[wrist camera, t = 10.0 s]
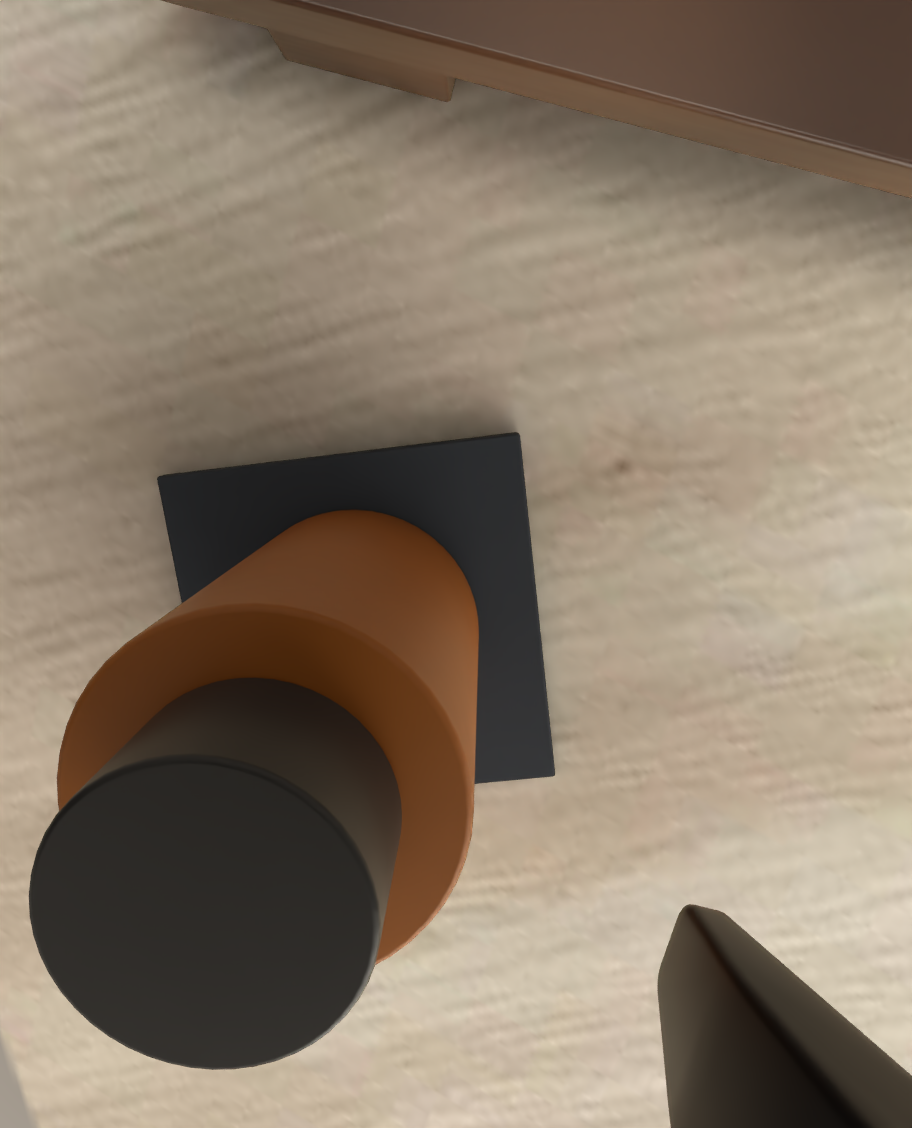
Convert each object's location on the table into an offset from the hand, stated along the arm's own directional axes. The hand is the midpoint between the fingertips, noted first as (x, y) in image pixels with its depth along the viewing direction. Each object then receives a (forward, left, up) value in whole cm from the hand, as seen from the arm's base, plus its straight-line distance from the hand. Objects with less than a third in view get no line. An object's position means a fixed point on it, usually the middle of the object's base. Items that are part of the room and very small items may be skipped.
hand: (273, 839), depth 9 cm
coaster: (0, 0, -8) cm, 8 cm away
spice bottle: (0, 0, -8) cm, 8 cm away
